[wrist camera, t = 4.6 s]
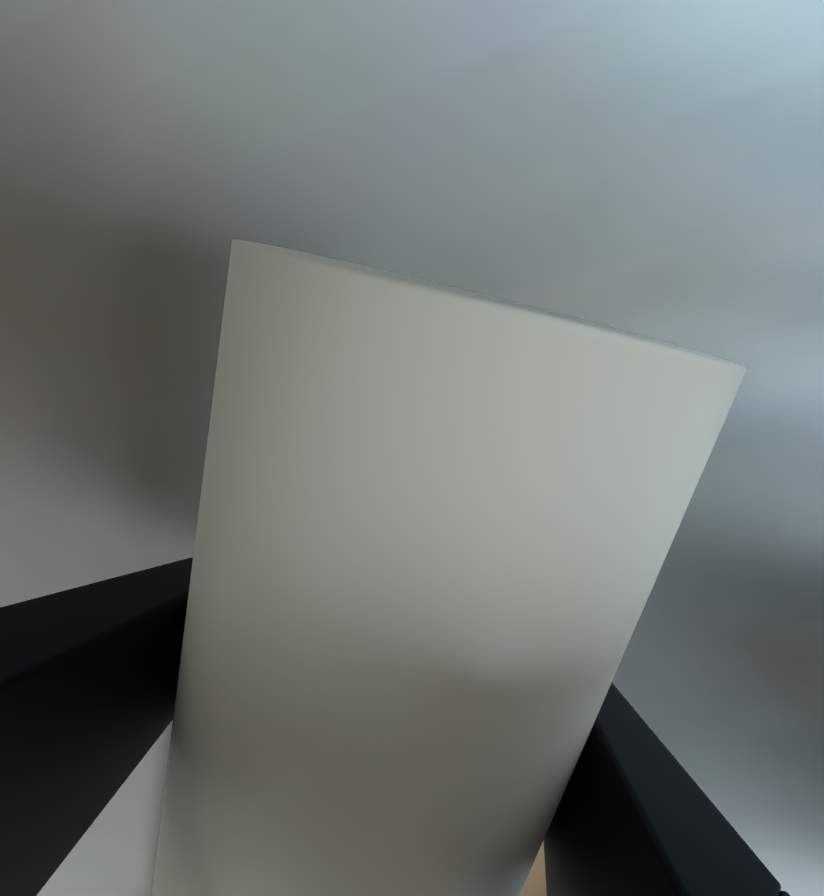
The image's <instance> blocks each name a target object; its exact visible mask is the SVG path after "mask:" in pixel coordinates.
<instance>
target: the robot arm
mask: <svg viewBox="0 0 824 896" xmlns="http://www.w3.org/2000/svg"><path fill="white" fill-rule="evenodd" d="M192 562H193V557H192V558H188V559H184V560H180V561H176V562H173V563H169V564H165V565H161V566H157V567H153V568H150V569H146V570H142V571H138V572H134V573H131V574H127V575H123V576H119V577H115V578H111V579H108V580H104V581H100V582H96V583H92V584H88V585H85V586H81V587H77V588H73V589H69V590H65V591H62V592H58V593H54V594H50V595H46V596H42V597H39V598H35V599H31V600H27V601H23V602H20V603H16V604H12V605H8V606H4V607H0V896H36V895H37V894H38V893H39V891H40V890H41V889H42V887H43V886H44V885H45V884H46V882H47V881H48V880H49V878H50V877H51V876H52V875H53V873H54V872H55V871H56V869H57V868H58V867H59V866H60V864H61V863H62V862H63V860H64V859H65V858H66V856H67V855H68V854H69V853H70V851H71V850H72V849H73V847H74V846H75V845H76V844H77V842H78V841H79V840H80V838H81V837H82V836H83V835H84V833H85V832H86V831H87V829H88V828H89V827H90V826H91V824H92V823H93V822H94V820H95V819H96V818H97V816H98V815H99V814H100V813H101V811H102V810H103V809H104V807H105V806H106V805H107V804H108V802H109V801H110V800H111V798H112V797H113V796H114V795H115V793H116V792H117V791H118V789H119V788H120V787H121V785H122V784H123V783H124V782H125V780H126V779H127V778H128V776H129V775H130V774H131V773H132V771H133V770H134V769H135V767H136V766H137V765H138V764H139V762H140V761H141V760H142V758H143V757H144V756H145V755H146V753H147V752H148V751H149V749H150V748H151V747H152V745H153V744H154V743H155V742H156V740H157V739H158V738H159V736H160V735H161V734H162V733H163V731H164V730H165V729H166V727H167V726H168V725H169V724H170V722H171V721H172V720H173V717H174V708H175V700H176V692H177V684H178V676H179V668H180V660H181V651H182V643H183V635H184V627H185V619H186V611H187V602H188V594H189V586H190V578H191V570H192ZM544 858H545V876H546V894H547V896H790V895H789V894H788V893H787V892H786V891H781V886H780V883H779V882H778V881H777V880H776V879H775V877H774V876H773V875H772V874H771V873H770V871H769V870H768V869H767V868H766V867H765V865H764V864H763V863H762V862H761V861H760V859H759V858H758V857H757V856H756V855H755V853H754V852H753V851H752V850H751V849H750V847H749V846H748V845H747V844H746V843H745V841H744V840H743V839H742V838H741V837H740V835H739V834H738V833H737V832H736V831H735V829H734V828H733V827H732V826H731V825H730V823H729V822H728V821H727V820H726V819H725V817H724V816H723V815H722V814H721V813H720V811H719V810H718V809H717V808H716V807H715V806H714V804H713V803H712V802H711V801H710V800H709V798H708V797H707V796H706V795H705V794H704V792H703V791H702V790H701V789H700V788H699V786H698V785H697V784H696V783H695V782H694V780H693V779H692V778H691V777H690V776H689V774H688V773H687V772H686V771H685V770H684V768H683V767H682V766H681V765H680V764H679V762H678V761H677V760H676V759H675V758H674V756H673V755H672V754H671V753H670V752H669V750H668V749H667V748H666V747H665V746H664V744H663V743H662V742H661V741H660V740H659V738H658V737H657V736H656V735H655V734H654V732H653V731H652V730H651V729H650V728H649V726H648V725H647V724H646V723H645V722H644V720H643V719H642V718H641V717H640V716H639V714H638V713H637V712H636V711H635V710H634V708H633V707H632V706H631V705H630V704H629V702H628V701H627V700H626V699H625V698H624V697H623V695H622V694H621V693H620V692H619V691H618V689H617V688H616V687H615V686H614V685H613V683H611V685H610V687H609V690H608V692H607V694H606V697H605V699H604V701H603V704H602V706H601V708H600V711H599V713H598V715H597V718H596V720H595V722H594V724H593V727H592V729H591V731H590V734H589V736H588V738H587V741H586V743H585V745H584V748H583V750H582V752H581V754H580V757H579V759H578V761H577V764H576V766H575V768H574V771H573V773H572V775H571V778H570V780H569V782H568V785H567V787H566V789H565V791H564V794H563V796H562V798H561V801H560V803H559V805H558V808H557V810H556V812H555V815H554V817H553V819H552V822H551V824H550V826H549V828H548V831H547V833H546V835H545V838H544ZM780 891H781V892H780Z"/></svg>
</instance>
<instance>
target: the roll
mask: <svg viewBox="0 0 824 896" xmlns="http://www.w3.org/2000/svg"><path fill="white" fill-rule="evenodd" d="M746 371H747V368H746V367H744V366H741V365H739V364H736V363H733V362H730V361H727V360H724V359H721V358H718V357H714V356H711V355H708V354H705V353H701V352H698V351H694V350H691V349H688V348H684V347H681V346H677V345H674V344H670V343H666V342H663V341H659V340H656V339H652V338H648V337H645V336H641V335H638V334H634V333H630V332H626V331H623V330H619V329H615V328H612V327H608V326H604V325H600V324H597V323H593V322H589V321H585V320H581V319H578V318H574V317H570V316H566V315H562V314H558V313H555V312H551V311H547V310H543V309H539V308H535V307H531V306H527V305H523V304H519V303H516V302H512V301H508V300H504V299H500V298H496V297H492V296H488V295H484V294H480V293H476V292H472V291H468V290H464V289H460V288H455V287H451V286H447V285H443V284H439V283H435V282H431V281H427V280H423V279H418V278H414V277H410V276H406V275H402V274H398V273H393V272H389V271H385V270H381V269H376V268H372V267H368V266H364V265H359V264H355V263H351V262H346V261H342V260H337V259H333V258H329V257H324V256H320V255H315V254H311V253H306V252H301V251H297V250H292V249H287V248H282V247H278V246H273V245H268V244H262V243H257V242H251V241H245V240H237V239H233V240H232V244H231V252H230V260H229V268H228V276H227V285H226V293H225V301H224V309H223V317H222V325H221V333H220V342H219V350H218V358H217V366H216V374H215V382H214V391H213V399H212V407H211V415H210V423H209V431H208V439H207V448H206V456H205V464H204V472H203V480H202V488H201V497H200V505H199V513H198V521H197V529H196V537H195V545H194V554H193V562H192V570H191V578H190V586H189V594H188V602H187V611H186V619H185V627H184V635H183V643H182V651H181V660H180V668H179V676H178V684H177V692H176V700H175V708H174V717H173V725H172V733H171V741H170V749H169V757H168V766H167V774H166V782H165V790H164V798H163V806H162V814H161V823H160V831H159V839H158V847H157V855H156V863H155V872H154V880H153V888H152V896H519V895H520V893H521V891H522V889H523V886H524V884H525V882H526V879H527V877H528V875H529V872H530V870H531V868H532V865H533V863H534V861H535V858H536V856H537V854H538V852H539V849H540V847H541V845H542V842H543V840H544V838H545V835H546V833H547V831H548V828H549V826H550V824H551V822H552V819H553V817H554V815H555V812H556V810H557V808H558V805H559V803H560V801H561V798H562V796H563V794H564V791H565V789H566V787H567V785H568V782H569V780H570V778H571V775H572V773H573V771H574V768H575V766H576V764H577V761H578V759H579V757H580V754H581V752H582V750H583V748H584V745H585V743H586V741H587V738H588V736H589V734H590V731H591V729H592V727H593V724H594V722H595V720H596V718H597V715H598V713H599V711H600V708H601V706H602V704H603V701H604V699H605V697H606V694H607V692H608V690H609V687H610V685H611V683H612V681H613V678H614V676H615V674H616V671H617V669H618V667H619V664H620V662H621V660H622V657H623V655H624V653H625V650H626V648H627V646H628V644H629V641H630V639H631V637H632V634H633V632H634V630H635V627H636V625H637V623H638V620H639V618H640V616H641V614H642V611H643V609H644V607H645V604H646V602H647V600H648V597H649V595H650V593H651V590H652V588H653V586H654V583H655V581H656V579H657V577H658V574H659V572H660V570H661V567H662V565H663V563H664V560H665V558H666V556H667V553H668V551H669V549H670V547H671V544H672V542H673V540H674V537H675V535H676V533H677V530H678V528H679V526H680V523H681V521H682V519H683V516H684V514H685V512H686V510H687V507H688V505H689V503H690V500H691V498H692V496H693V493H694V491H695V489H696V486H697V484H698V482H699V479H700V477H701V475H702V473H703V470H704V468H705V466H706V463H707V461H708V459H709V456H710V454H711V452H712V449H713V447H714V445H715V443H716V440H717V438H718V436H719V433H720V431H721V429H722V426H723V424H724V422H725V419H726V417H727V415H728V412H729V410H730V408H731V406H732V403H733V401H734V399H735V396H736V394H737V392H738V389H739V387H740V385H741V382H742V380H743V378H744V375H745V373H746Z"/></svg>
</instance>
